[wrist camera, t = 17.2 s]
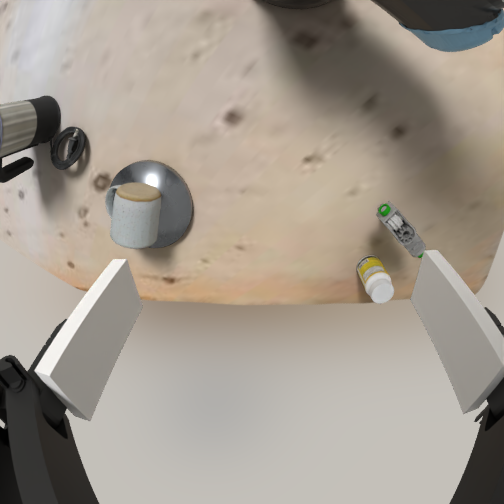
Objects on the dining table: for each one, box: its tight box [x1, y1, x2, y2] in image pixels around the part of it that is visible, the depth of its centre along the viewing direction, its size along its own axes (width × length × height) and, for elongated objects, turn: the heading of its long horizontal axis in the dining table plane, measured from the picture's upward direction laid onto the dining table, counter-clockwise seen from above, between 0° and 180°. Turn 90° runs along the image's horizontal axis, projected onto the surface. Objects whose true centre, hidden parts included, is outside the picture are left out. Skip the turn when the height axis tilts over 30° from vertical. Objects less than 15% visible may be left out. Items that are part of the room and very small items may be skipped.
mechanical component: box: [376, 201, 426, 258], centre depth 38 cm, size 3×10×10 cm, turn 51°
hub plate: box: [110, 160, 193, 248], centre depth 43 cm, size 15×15×1 cm
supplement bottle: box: [357, 255, 394, 304], centre depth 44 cm, size 5×5×8 cm
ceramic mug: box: [105, 183, 161, 249], centre depth 39 cm, size 11×8×8 cm
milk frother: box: [0, 96, 85, 183], centre depth 31 cm, size 14×16×15 cm
